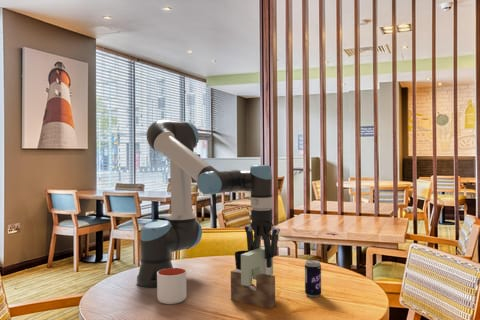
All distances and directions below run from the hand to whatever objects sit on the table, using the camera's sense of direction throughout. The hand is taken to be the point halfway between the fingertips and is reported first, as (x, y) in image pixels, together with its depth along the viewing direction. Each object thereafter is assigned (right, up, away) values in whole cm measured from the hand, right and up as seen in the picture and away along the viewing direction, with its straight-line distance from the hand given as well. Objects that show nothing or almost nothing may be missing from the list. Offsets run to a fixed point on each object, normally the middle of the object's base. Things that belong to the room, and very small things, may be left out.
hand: (262, 275), depth 148 cm
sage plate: (-2, -1, -2) cm, 3 cm away
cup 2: (-6, -8, +16) cm, 19 cm away
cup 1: (-32, -8, -2) cm, 33 cm away
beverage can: (+18, -8, +2) cm, 20 cm away
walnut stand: (-4, -8, -5) cm, 10 cm away
